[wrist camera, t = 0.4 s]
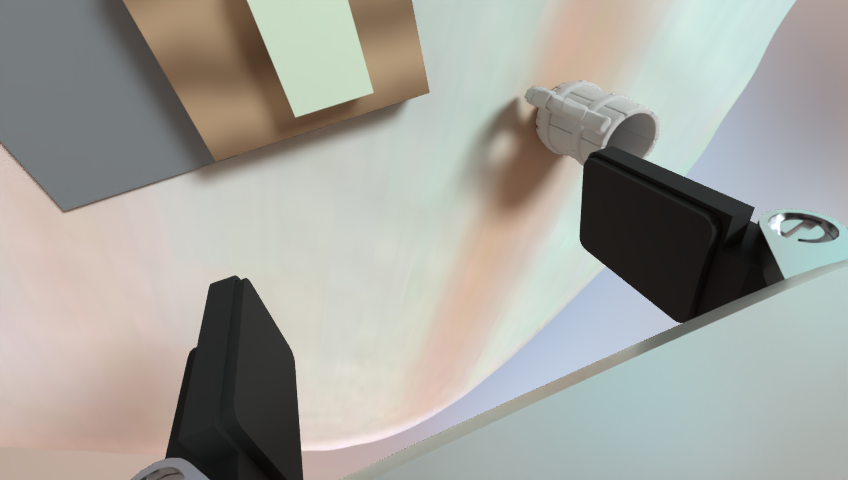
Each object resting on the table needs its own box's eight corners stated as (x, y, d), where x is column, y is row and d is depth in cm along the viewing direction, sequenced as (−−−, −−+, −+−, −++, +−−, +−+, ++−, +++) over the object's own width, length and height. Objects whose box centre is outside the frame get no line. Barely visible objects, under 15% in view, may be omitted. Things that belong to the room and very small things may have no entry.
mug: (566, 158, 46) (645, 202, 36) (491, 120, 40) (561, 161, 30) (605, 96, 43) (702, 127, 34) (530, 45, 37) (622, 65, 28)
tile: (236, -30, 25) (233, -32, 23) (327, -53, 26) (332, -57, 24) (293, 108, 30) (295, 117, 28) (366, 86, 31) (373, 92, 29)
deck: (117, -38, 25) (98, -41, 22) (377, -100, 28) (390, -110, 25) (219, 146, 33) (215, 161, 30) (416, 84, 36) (429, 92, 33)
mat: (-127, -4, 23) (-132, -4, 22) (122, -61, 25) (120, -62, 24) (65, 208, 32) (64, 211, 31) (237, 153, 34) (237, 155, 33)
